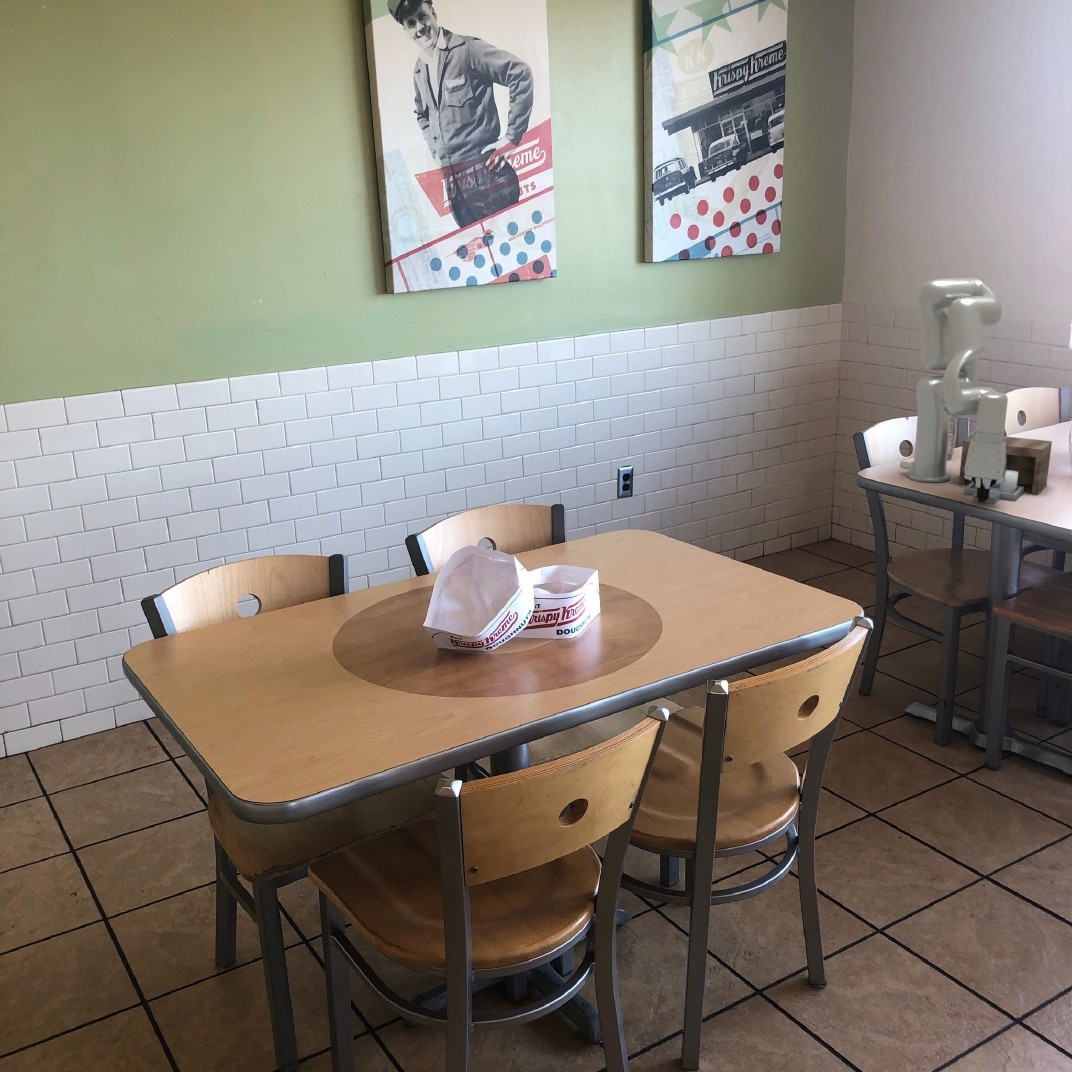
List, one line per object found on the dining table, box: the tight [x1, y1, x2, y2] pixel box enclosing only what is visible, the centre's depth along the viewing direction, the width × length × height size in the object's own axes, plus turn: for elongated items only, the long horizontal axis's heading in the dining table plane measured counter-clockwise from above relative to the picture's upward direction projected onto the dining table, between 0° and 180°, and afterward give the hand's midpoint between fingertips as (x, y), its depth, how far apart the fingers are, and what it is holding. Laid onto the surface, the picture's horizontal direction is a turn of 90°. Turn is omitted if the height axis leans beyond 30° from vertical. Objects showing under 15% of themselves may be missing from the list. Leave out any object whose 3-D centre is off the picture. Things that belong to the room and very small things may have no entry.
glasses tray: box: [963, 470, 1025, 505], centre depth 305 cm, size 14×16×7 cm
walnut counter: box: [958, 435, 1053, 496], centre depth 314 cm, size 22×12×14 cm, turn 54°
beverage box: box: [944, 407, 958, 461], centre depth 349 cm, size 7×11×22 cm, turn 156°
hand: (982, 500), depth 298 cm, fingers closed
